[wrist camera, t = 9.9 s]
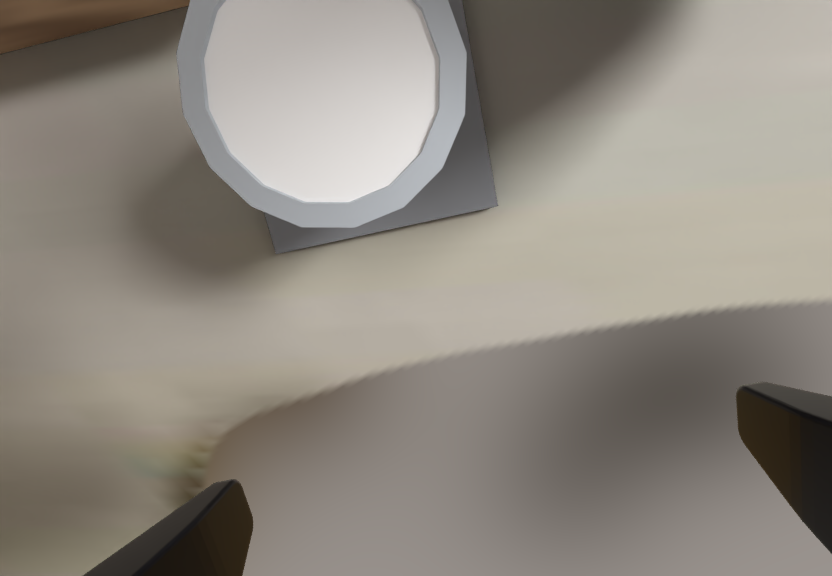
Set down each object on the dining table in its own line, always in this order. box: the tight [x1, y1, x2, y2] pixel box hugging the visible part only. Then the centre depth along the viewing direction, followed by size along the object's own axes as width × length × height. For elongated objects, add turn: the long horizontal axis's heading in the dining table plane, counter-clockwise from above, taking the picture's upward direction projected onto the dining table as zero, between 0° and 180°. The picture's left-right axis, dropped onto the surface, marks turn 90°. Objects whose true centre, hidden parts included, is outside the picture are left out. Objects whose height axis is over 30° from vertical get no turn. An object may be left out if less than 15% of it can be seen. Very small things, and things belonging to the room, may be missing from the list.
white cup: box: [176, 0, 467, 228], centre depth 15 cm, size 7×7×7 cm
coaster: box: [264, 0, 498, 254], centre depth 18 cm, size 9×9×1 cm
